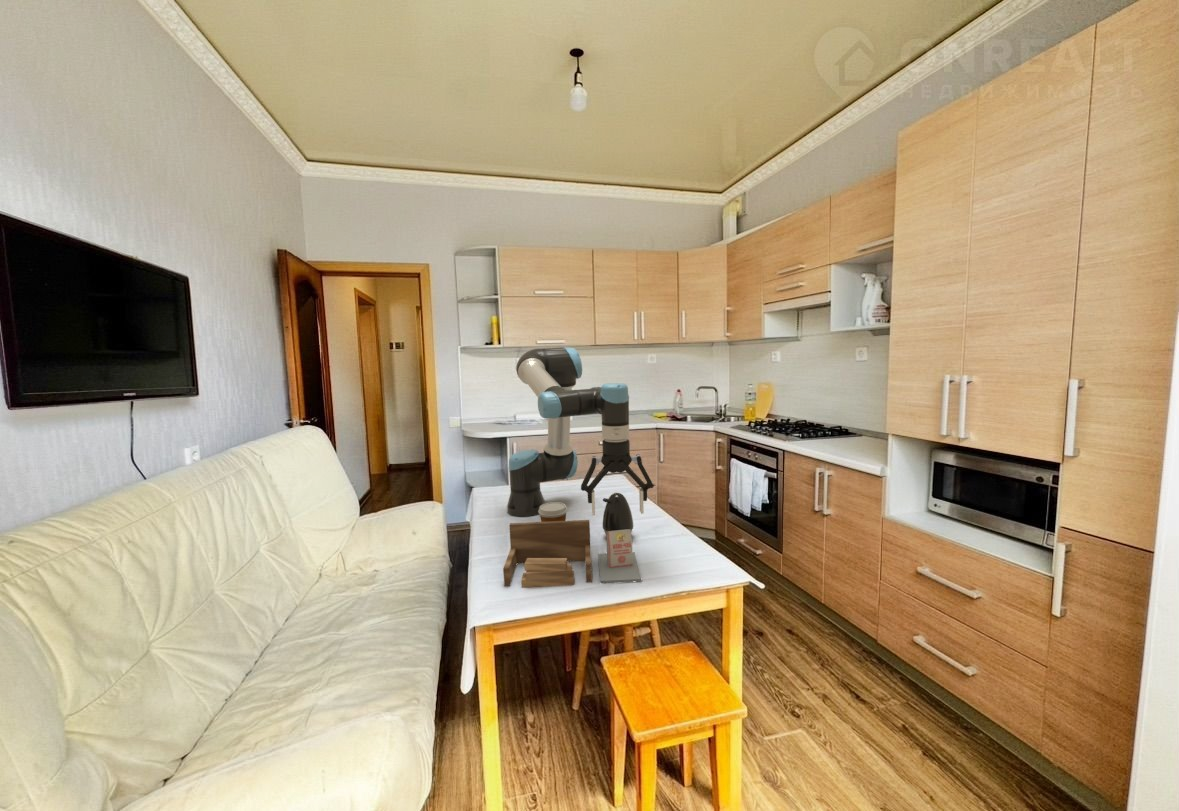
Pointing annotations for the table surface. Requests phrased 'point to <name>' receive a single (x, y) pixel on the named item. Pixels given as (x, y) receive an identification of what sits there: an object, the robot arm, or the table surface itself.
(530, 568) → the offcut stack
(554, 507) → the disposable coffee cup
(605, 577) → the mat
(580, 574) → the table surface
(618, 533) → the tea bag
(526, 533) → the bench
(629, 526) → the pump dispenser
